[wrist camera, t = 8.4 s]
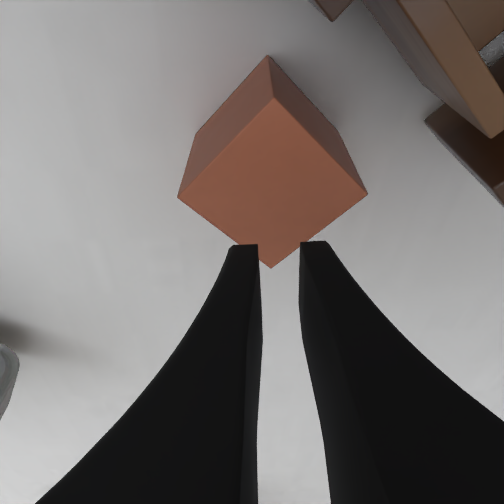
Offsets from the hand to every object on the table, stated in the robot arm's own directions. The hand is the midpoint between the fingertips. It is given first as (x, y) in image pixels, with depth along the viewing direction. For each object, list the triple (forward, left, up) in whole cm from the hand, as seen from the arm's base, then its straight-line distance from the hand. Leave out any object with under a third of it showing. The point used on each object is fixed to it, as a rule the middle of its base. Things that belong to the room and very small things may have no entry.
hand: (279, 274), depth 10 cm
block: (0, 0, -9) cm, 9 cm away
